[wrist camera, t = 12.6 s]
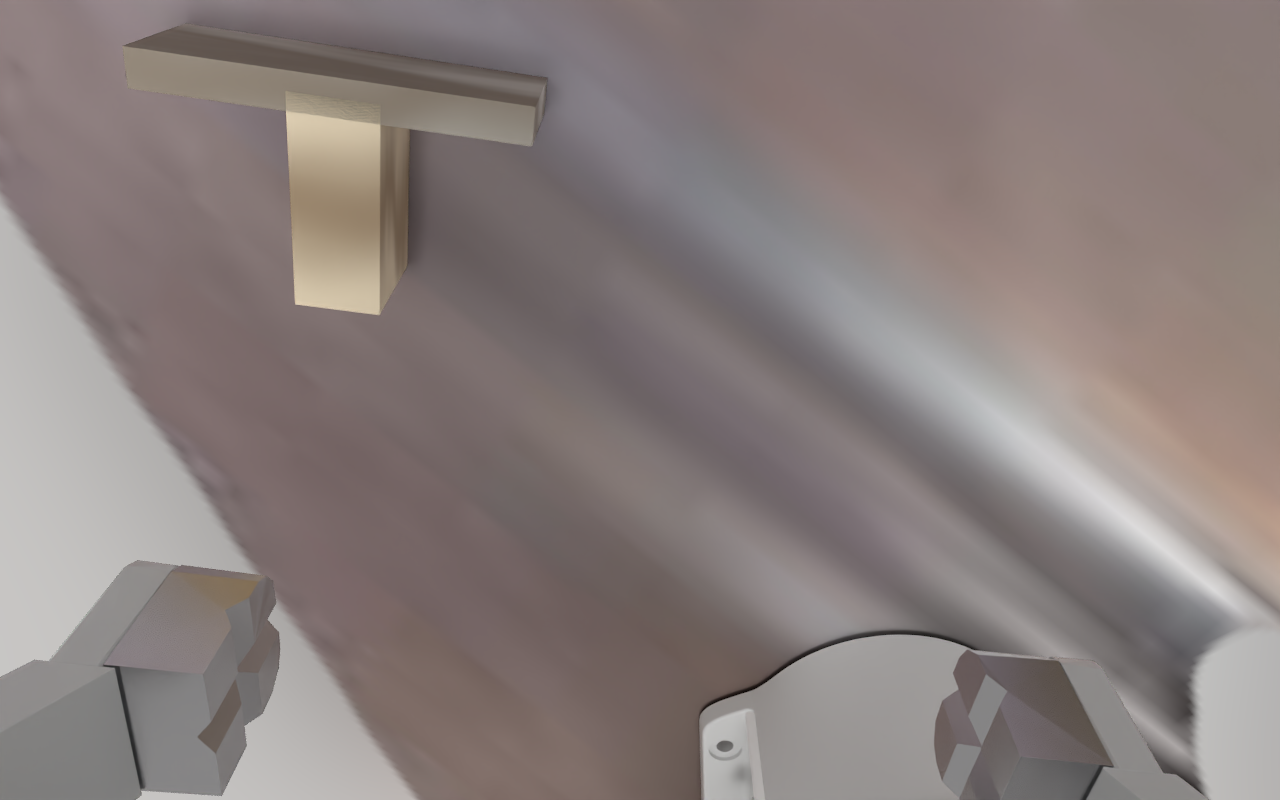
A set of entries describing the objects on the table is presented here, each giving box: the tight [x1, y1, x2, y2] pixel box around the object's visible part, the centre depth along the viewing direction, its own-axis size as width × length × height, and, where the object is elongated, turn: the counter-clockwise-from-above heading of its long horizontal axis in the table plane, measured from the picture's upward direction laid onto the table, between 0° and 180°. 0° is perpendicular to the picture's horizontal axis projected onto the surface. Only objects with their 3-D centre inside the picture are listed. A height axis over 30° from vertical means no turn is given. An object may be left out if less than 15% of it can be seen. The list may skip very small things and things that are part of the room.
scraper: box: [122, 24, 547, 315], centre depth 31 cm, size 8×12×4 cm, turn 82°
